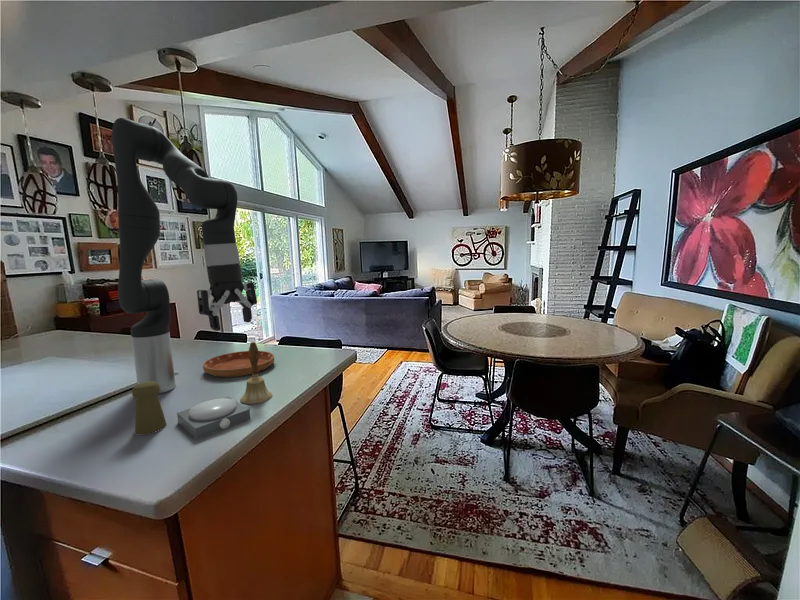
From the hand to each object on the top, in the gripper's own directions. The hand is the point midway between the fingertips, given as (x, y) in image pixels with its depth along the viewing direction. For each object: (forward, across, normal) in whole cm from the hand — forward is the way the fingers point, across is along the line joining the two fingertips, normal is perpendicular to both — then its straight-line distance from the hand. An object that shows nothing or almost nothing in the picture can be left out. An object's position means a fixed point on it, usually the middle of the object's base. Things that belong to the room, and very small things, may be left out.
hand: (232, 326), depth 89 cm
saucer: (+23, -18, -29) cm, 41 cm away
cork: (+21, +19, -8) cm, 29 cm away
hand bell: (+22, -4, -1) cm, 23 cm away
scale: (+21, +9, +2) cm, 23 cm away
